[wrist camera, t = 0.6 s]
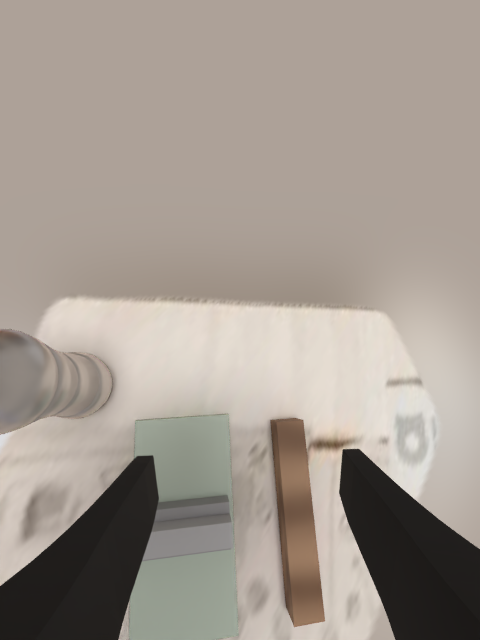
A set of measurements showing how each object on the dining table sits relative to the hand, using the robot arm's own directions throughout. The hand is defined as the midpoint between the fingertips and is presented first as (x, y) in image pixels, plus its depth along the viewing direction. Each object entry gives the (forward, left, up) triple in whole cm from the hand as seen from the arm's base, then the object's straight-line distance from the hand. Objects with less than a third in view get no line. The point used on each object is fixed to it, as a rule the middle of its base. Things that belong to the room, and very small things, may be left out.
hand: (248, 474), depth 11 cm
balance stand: (-9, +4, -23) cm, 25 cm away
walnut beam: (-9, -8, -23) cm, 26 cm away
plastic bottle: (+5, +14, -23) cm, 27 cm away
